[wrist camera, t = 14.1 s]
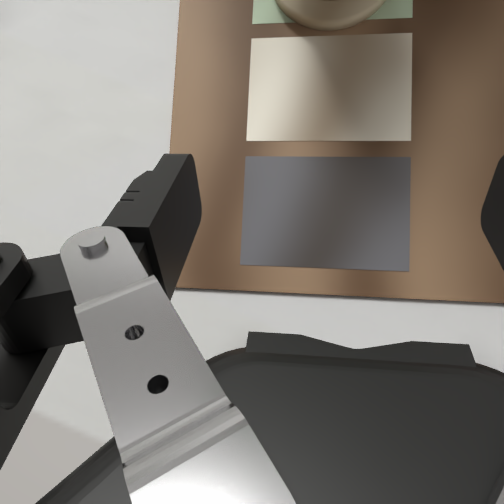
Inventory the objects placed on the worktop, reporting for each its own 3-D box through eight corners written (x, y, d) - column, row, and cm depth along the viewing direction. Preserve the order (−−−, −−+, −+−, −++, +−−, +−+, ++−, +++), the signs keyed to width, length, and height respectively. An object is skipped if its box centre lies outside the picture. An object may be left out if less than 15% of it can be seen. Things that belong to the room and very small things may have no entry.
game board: (164, 286, 18) (160, 286, 18) (195, -159, 21) (191, -173, 20) (659, 310, 16) (674, 311, 15) (636, -205, 18) (648, -223, 17)
